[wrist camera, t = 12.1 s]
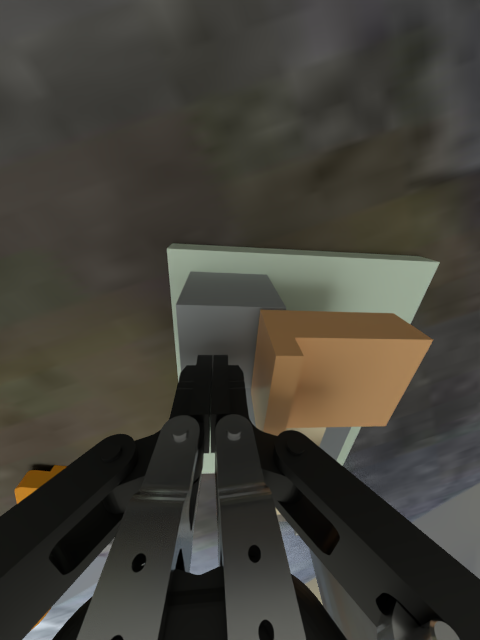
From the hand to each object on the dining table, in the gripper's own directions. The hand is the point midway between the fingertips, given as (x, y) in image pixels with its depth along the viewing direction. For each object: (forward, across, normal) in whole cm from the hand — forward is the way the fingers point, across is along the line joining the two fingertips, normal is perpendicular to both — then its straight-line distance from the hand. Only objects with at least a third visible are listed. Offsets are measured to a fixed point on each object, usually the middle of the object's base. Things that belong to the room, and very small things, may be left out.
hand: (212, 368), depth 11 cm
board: (+9, -7, +9) cm, 14 cm away
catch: (+1, -6, 0) cm, 6 cm away
